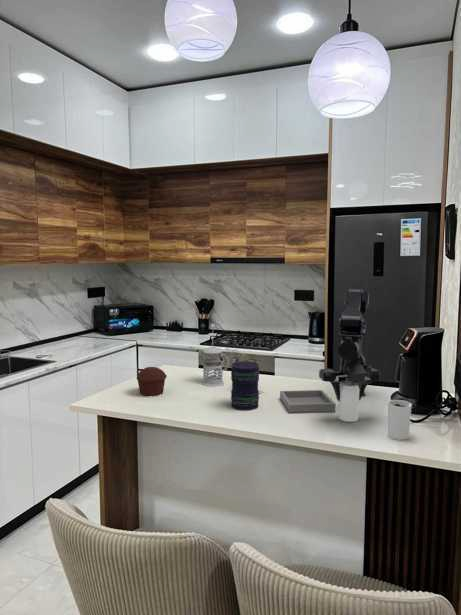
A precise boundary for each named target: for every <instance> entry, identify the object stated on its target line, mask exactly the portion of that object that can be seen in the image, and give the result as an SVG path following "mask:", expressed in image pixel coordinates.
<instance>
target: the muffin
mask: <svg viewBox="0 0 461 615" xmlns="http://www.w3.org/2000/svg"><path fill="white" fill-rule="evenodd" d="M167 376H168V375H166V372H165V371H164V370H163V369H161V368H159V367H156V366H147V367H144V368H143V369H141V370H140V371H139V372H138V374H137V376H136V380H137V383H138V390H139V395H140V394H142V395H141V396H143V397H148V396H152V397H159V396H161V395H163V394H164V389H165V383H166V379H167ZM160 394H161V395H160ZM158 395H159V396H158Z"/></svg>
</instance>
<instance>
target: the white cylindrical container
mask: <svg viewBox="0 0 461 615" xmlns="http://www.w3.org/2000/svg"><path fill="white" fill-rule="evenodd" d="M411 414H412V403H411V402H408V401H407V400H401V399H390V400H389V401H387V436H388V438H390V439H394V440H398V441H405V440H408V439H409V436H410V435H409V434H410V427H411V426H410V425H411V416H412V415H411Z"/></svg>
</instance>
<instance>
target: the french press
mask: <svg viewBox="0 0 461 615" xmlns="http://www.w3.org/2000/svg"><path fill="white" fill-rule="evenodd" d="M210 328H212V329H211V330H212V332H211V333H212V345H211V347H207V348H204V349H203V351H202V352H203V354H206V355H211V356H212V358H206V359H203V362H204V363H203V371H202V372H203V381H201V383H200V385H202V386H204V387H209V386H210V387H212V388H213V387H215V386H216V387H221V386H223V384H224V385H225V381H223V372H225V371H227V369H228V368H229V364H230V362H229V361H230V360H229V358H228V356H227V355H226V354H225V353H223V350H222V348H220V347H216V346H214V328H215V324H214V323H211V324H210ZM218 354H220V357H221V358H223V356H224V357H225V358H226V362H227V363H226V366H225V367H224V368H223V364H222V359H220V358H214V355H218ZM216 387H215V388H216Z"/></svg>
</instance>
